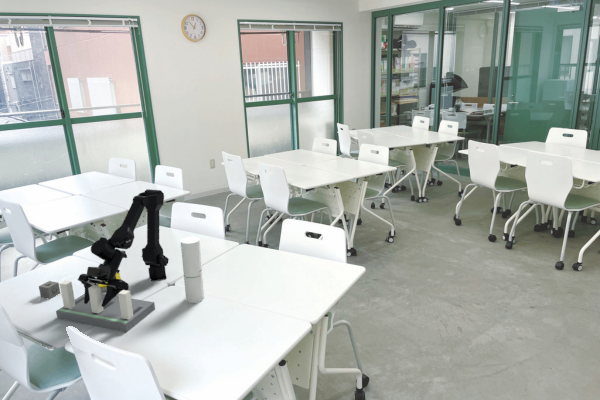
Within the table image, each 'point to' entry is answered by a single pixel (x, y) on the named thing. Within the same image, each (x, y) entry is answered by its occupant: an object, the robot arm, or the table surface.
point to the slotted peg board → (115, 315)
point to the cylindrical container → (192, 269)
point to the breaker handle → (95, 299)
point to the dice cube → (49, 289)
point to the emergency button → (104, 287)
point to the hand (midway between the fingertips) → (93, 305)
